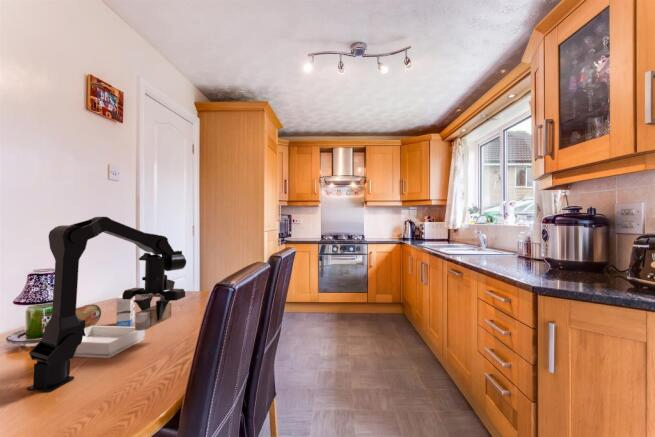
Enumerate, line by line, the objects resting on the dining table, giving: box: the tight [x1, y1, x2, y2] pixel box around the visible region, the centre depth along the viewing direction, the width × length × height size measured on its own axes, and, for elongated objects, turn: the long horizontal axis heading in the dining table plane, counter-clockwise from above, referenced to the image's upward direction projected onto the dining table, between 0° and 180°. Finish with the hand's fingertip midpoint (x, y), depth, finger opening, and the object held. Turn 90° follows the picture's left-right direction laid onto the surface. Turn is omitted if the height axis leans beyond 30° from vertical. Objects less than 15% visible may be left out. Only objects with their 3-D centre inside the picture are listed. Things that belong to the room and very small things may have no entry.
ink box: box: [116, 293, 136, 327], centre depth 123 cm, size 9×5×12 cm, turn 22°
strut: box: [134, 302, 172, 331], centre depth 102 cm, size 14×4×5 cm, turn 176°
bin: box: [73, 325, 146, 359], centre depth 101 cm, size 16×20×4 cm
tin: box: [76, 304, 102, 328], centre depth 118 cm, size 15×3×8 cm, turn 168°
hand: (153, 319), depth 102 cm, fingers closed on strut, 4 cm apart
